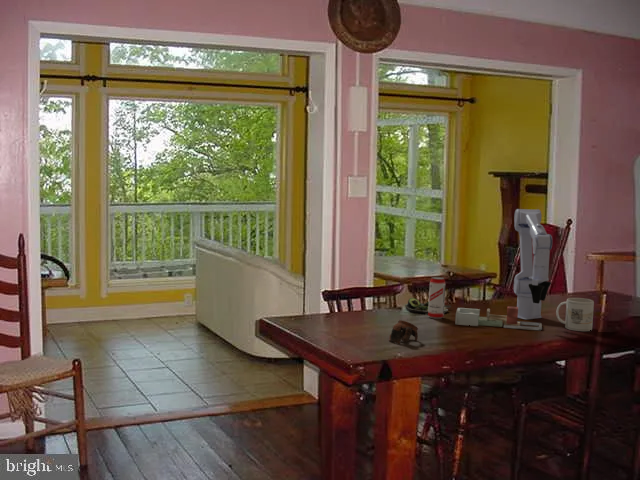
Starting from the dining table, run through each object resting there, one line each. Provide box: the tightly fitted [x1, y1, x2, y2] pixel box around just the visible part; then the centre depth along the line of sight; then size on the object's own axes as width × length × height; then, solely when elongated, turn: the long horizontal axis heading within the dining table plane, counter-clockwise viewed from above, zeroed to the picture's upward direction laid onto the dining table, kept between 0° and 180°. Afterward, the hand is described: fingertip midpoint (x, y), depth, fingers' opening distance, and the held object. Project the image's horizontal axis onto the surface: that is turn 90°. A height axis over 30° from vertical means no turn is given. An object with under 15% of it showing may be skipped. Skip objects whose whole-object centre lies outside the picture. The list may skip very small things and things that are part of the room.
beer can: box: [427, 276, 447, 320], centre depth 306 cm, size 6×6×16 cm
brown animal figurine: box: [388, 319, 419, 345], centre depth 263 cm, size 12×10×8 cm
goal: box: [454, 307, 481, 327], centre depth 298 cm, size 8×11×4 cm
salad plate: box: [405, 297, 452, 315], centre depth 322 cm, size 19×18×5 cm
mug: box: [555, 297, 595, 332], centre depth 293 cm, size 10×12×11 cm
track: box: [478, 316, 543, 331], centre depth 295 cm, size 24×9×2 cm, turn 76°
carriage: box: [486, 305, 521, 326], centre depth 295 cm, size 12×6×7 cm, turn 76°
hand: (538, 301), depth 292 cm, fingers open, 7 cm apart
